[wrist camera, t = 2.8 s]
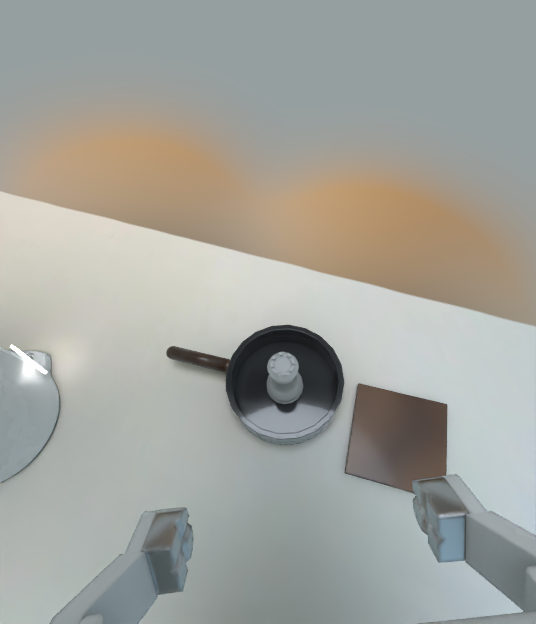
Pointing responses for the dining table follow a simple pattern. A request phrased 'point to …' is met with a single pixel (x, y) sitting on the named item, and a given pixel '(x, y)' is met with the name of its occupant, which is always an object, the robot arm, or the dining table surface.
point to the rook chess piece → (284, 378)
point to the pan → (315, 376)
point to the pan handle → (198, 358)
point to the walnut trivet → (396, 438)
